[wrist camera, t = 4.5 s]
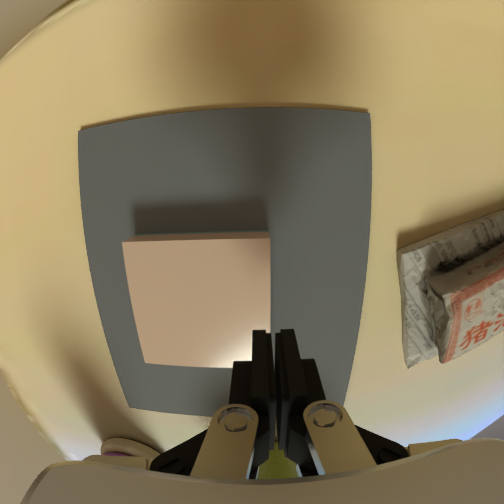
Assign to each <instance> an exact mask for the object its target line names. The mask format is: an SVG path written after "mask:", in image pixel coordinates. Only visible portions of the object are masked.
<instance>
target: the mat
mask: <svg viewBox="0 0 504 504" xmlns="http://www.w3.org/2000/svg"><path fill="white" fill-rule="evenodd" d="M78 162H79V184H80V198H81V209H82V219H83V227H84V235H85V242H86V249H87V255H88V261H89V267H90V272H91V278H92V283H93V288H94V292H95V297H96V301H97V306H98V310H99V314H100V318H101V322H102V326H103V329H104V333H105V337H106V340H107V344H108V347H109V350H110V354H111V357H112V360H113V363H114V366H115V369H116V372H117V375H118V378H119V381H120V384H121V387H122V389H123V392H124V395H125V398H126V400H127V403H128V405H129V407H130V408H136V409H143V410H150V411H157V412H165V413H174V414H184V415H197V416H213V415H214V414H215V412H216V411H217V410H218V409H220V408H221V407H224V406H226V405H229V395H230V386H231V378H232V369H233V368H216V367H191V366H175V365H161V364H150V363H145V361H144V357H143V353H142V349H141V345H140V341H139V336H138V332H137V327H136V323H135V318H134V313H133V308H132V303H131V298H130V292H129V287H128V281H127V275H126V268H125V262H124V255H123V247H122V242H123V241H125V240H126V239H128V238H130V237H132V236H133V235H135V234H154V233H182V232H216V231H262V230H269V234H270V274H271V310H270V333H271V337H272V348H273V360H274V366H275V333H280V329H294V331H295V335H296V340H297V344H298V349H299V353H300V358H301V359H311V358H314V359H315V362H316V365H317V369H318V372H319V376H320V379H321V383H322V386H323V390H324V394H325V397H326V400H329V401H334V402H337V403H339V404H340V405H342V406H343V405H344V401H345V397H346V392H347V388H348V383H349V379H350V374H351V369H352V364H353V359H354V354H355V349H356V343H357V337H358V331H359V325H360V319H361V312H362V305H363V297H364V289H365V281H366V271H367V261H368V249H369V236H370V219H371V191H372V149H371V121H370V113H363V112H354V111H343V110H330V109H314V108H283V107H262V108H230V109H214V110H201V111H190V112H181V113H172V114H165V115H157V116H150V117H144V118H138V119H132V120H126V121H121V122H116V123H111V124H106V125H102V126H97V127H93V128H88V129H84V130H80V131H78Z"/></svg>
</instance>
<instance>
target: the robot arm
mask: <svg viewBox="0 0 504 504" xmlns="http://www.w3.org/2000/svg"><path fill="white" fill-rule="evenodd" d="M276 420H277V435H278V449H279V450H284V456H285V457H287V458H288V459H290V460H291V461H293V462H295V463H296V464H295V465H296V470H297V474H298V477H296V478H281V479H257V478H258V473H259V466H260V465H261V464H263V463H264V462H265V461H267V460H268V459H269V450H274V443H275V423H276ZM20 504H504V440H501V439H496V438H479V439H472V440H466V441H462V440H459V439H449V440H442V441H435V442H426V443H416V444H409V445H408V447H403V446H402V445H400V444H398V443H396V442H394V441H391V440H389V439H386V438H384V437H381V436H379V435H377V434H374V433H372V432H370V431H367V430H365V429H363V428H361V427H359V426H356V425H354V423H353V421H352V420H351V418H350V416H349V414H348V413H347V411H346V409H345V408H344V407H343V406H342V405H340V404H339V403H337V402H334V401H329V400H326V397H325V394H324V390H323V386H322V383H321V379H320V376H319V372H318V369H317V365H316V362H315V359H314V358H311V359H301V358H300V353H299V349H298V344H297V340H296V335H295V331H294V329H280V333H275V366H274V360H273V348H272V337H271V333H266V330H252V361H233V369H232V378H231V386H230V395H229V405H226V406H224V407H221V408H220V409H218V410H217V411H216V412H215V414H214V415H213V418H212V420H211V423H210V425H209V428H208V429H207V430H205V431H203V432H201V433H200V434H198V435H196V436H194V437H192V438H191V439H189V440H187V441H185V442H183V443H181V444H180V445H178V446H176V447H174V448H172V449H170V450H168V451H166V452H164V453H162V454H160V455H159V456H157V457H156V458H154V459H147V458H146V457H131V456H106V455H91V456H88V457H86V458H85V459H84V460H82V461H63V462H58V463H55V464H52V465H50V466H48V467H46V468H45V469H44V470H43V471H42V472H41V473H40V474H39V475H38V476H37V478H36V479H35V480H34V482H33V483H32V485H31V486H30V488H29V489H28V491H27V492H26V494H25V496H24V498H23V500H22V502H21V503H20Z"/></svg>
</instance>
